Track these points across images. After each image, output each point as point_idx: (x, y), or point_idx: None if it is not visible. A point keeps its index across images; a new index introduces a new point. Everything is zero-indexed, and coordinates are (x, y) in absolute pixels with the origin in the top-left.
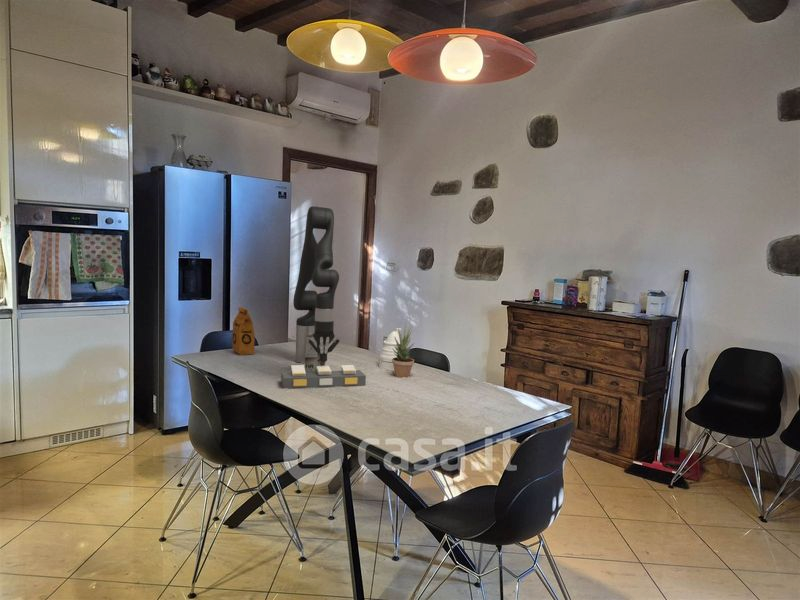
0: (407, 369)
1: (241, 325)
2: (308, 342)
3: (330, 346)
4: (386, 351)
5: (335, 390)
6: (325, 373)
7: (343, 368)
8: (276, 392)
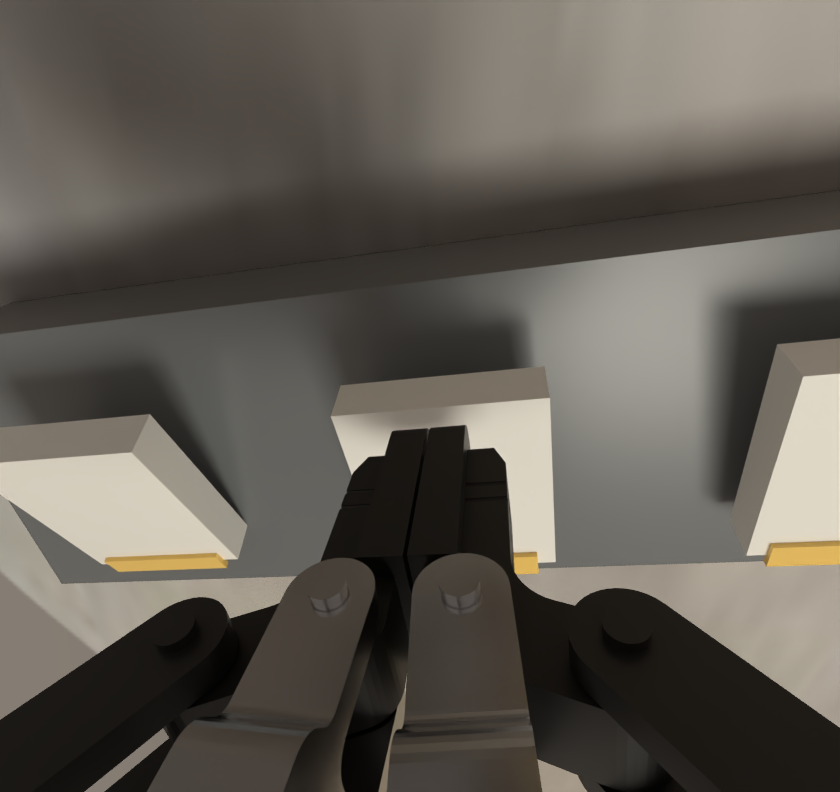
0: None
1: None
2: None
3: (697, 789)
4: None
5: (556, 584)
6: None
7: (784, 489)
8: (105, 591)
